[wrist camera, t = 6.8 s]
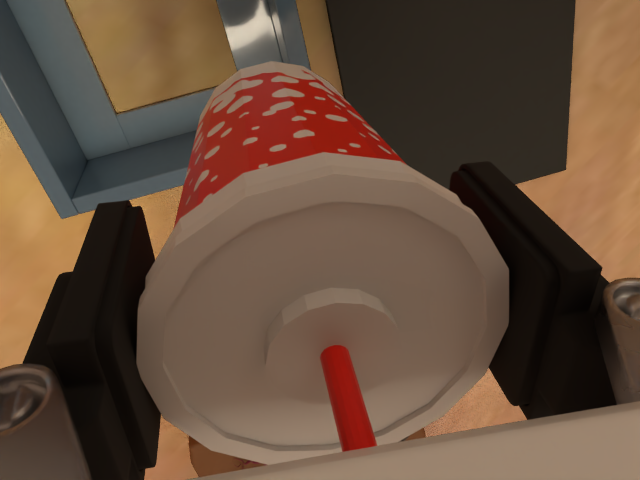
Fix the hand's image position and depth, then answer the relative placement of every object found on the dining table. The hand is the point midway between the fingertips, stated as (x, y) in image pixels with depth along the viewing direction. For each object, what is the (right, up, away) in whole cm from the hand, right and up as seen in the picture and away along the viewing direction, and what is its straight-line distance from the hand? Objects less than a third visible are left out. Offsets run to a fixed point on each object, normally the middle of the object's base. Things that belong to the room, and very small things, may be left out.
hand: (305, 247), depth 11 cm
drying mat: (+8, +11, +20) cm, 24 cm away
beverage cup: (-1, +3, +5) cm, 6 cm away
